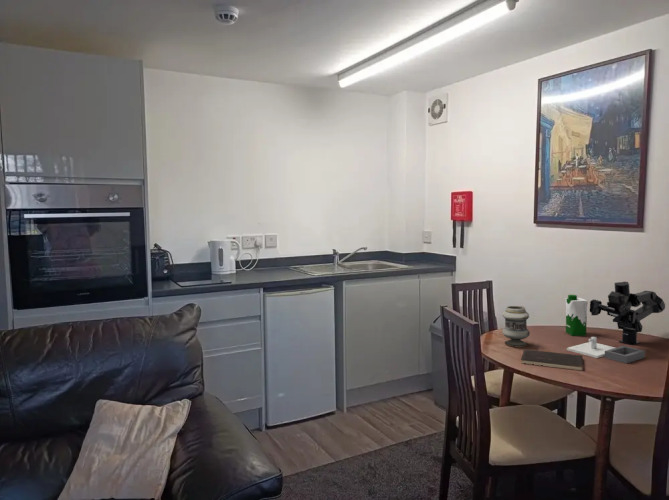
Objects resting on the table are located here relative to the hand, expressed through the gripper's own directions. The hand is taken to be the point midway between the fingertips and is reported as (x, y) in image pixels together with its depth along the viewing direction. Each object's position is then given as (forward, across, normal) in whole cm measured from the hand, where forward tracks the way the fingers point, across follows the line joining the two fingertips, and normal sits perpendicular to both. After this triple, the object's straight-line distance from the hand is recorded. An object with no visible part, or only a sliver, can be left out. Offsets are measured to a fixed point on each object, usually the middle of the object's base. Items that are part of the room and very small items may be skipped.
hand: (602, 317), depth 206 cm
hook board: (+2, -1, +16) cm, 16 cm away
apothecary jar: (+20, -29, +17) cm, 39 cm away
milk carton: (-18, -20, +23) cm, 35 cm away
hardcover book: (+30, -5, +12) cm, 33 cm away
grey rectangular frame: (+2, +12, +14) cm, 19 cm away
